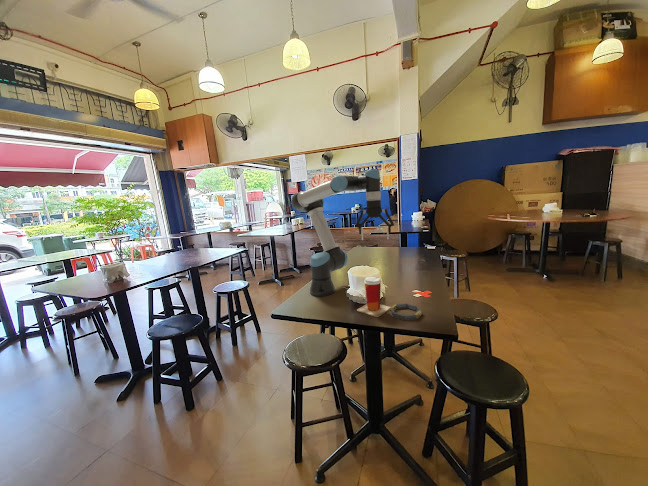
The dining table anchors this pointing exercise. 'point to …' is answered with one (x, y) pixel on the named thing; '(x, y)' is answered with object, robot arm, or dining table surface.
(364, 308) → the plate
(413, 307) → the collar
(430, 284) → the dining table surface
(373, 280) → the coffee cup
